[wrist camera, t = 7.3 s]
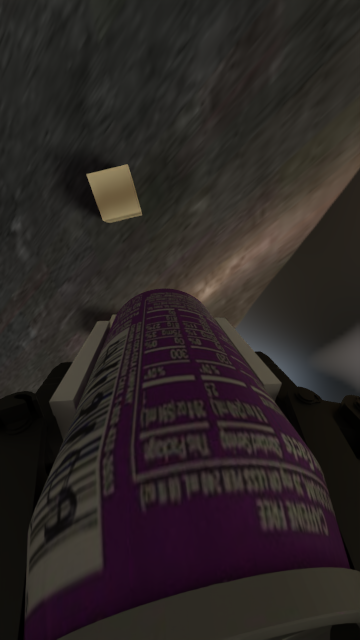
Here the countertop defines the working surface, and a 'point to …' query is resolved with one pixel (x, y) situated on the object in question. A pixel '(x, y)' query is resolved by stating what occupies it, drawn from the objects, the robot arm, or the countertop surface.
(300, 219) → the countertop surface
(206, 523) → the beverage can
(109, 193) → the beech cube
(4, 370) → the countertop surface
